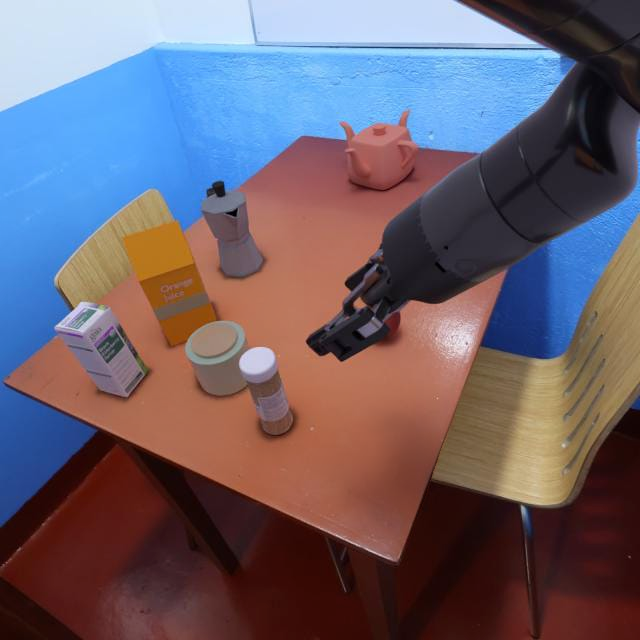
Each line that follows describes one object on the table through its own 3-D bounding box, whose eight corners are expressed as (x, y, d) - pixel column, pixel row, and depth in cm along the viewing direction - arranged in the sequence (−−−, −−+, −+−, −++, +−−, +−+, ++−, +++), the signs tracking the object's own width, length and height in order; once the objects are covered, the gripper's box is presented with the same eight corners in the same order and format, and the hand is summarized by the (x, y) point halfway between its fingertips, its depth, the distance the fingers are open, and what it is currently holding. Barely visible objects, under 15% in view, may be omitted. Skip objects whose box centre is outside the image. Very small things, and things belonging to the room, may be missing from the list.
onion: (372, 319, 79) (370, 281, 73) (405, 326, 76) (405, 288, 71) (359, 342, 75) (355, 305, 70) (393, 351, 73) (392, 313, 68)
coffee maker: (275, 270, 92) (254, 187, 80) (234, 289, 90) (206, 205, 78) (245, 238, 102) (222, 160, 90) (208, 254, 100) (179, 175, 88)
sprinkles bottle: (261, 412, 68) (237, 349, 59) (292, 406, 68) (273, 341, 59) (263, 439, 64) (238, 376, 55) (295, 432, 64) (276, 368, 55)
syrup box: (127, 399, 73) (83, 333, 63) (98, 391, 75) (51, 326, 65) (149, 371, 77) (110, 305, 67) (121, 364, 79) (80, 299, 69)
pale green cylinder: (228, 404, 70) (213, 370, 64) (188, 381, 74) (171, 347, 69) (267, 364, 74) (256, 329, 69) (227, 344, 79) (214, 310, 74)
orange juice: (165, 319, 86) (119, 225, 72) (211, 303, 88) (175, 208, 74) (171, 347, 80) (122, 251, 67) (220, 329, 82) (183, 231, 68)
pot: (343, 164, 123) (338, 116, 114) (410, 154, 122) (409, 105, 113) (349, 199, 109) (343, 147, 101) (424, 188, 108) (425, 135, 100)
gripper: (453, 148, 36) (336, 247, 49) (390, 252, 28) (267, 341, 40) (515, 216, 38) (386, 296, 50) (474, 335, 29) (330, 396, 42)
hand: (334, 316), depth 45 cm, fingers open, 8 cm apart
